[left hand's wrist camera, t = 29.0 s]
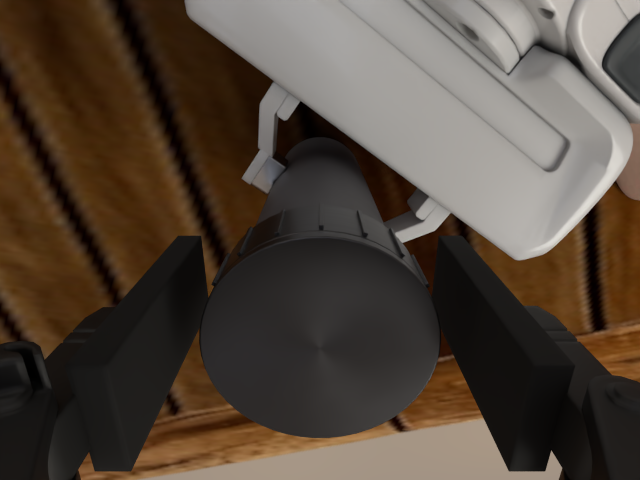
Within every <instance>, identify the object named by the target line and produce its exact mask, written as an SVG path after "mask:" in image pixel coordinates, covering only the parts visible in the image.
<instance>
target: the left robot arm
mask: <svg viewBox="0 0 640 480" xmlns="http://www.w3.org/2000/svg"><path fill="white" fill-rule="evenodd" d="M432 299H433V302H434V304H435V307H436V310H437V312H438V317H439V322H440V327H441V329H442V332H443V334H444V336H445V338H446V340H447V342H448V344H449V346H450V348H451V351H452V353H453V355H454V357H455V359H456V361H457V363H458V365H459V367H460V369H461V372H462V374H463V376H464V378H465V380H466V382H467V384H468V386H469V388H470V390H471V393H472V395H473V397H474V399H475V401H476V403H477V405H478V407H479V409H480V411H481V414H482V416H483V418H484V420H485V422H486V424H487V426H488V428H489V430H490V432H491V435H492V437H493V439H494V441H495V443H496V445H497V447H498V449H499V451H500V453H501V456H502V458H503V460H504V462H505V464H506V466H507V468H508V470H509V471H545V470H546V467H547V463H548V460H549V456H550V453H551V450H552V452H553V453H554V455H555V456H556V458H557V460H558V461H559V463H560V465H561V466H562V471H561V475H560V478H559V480H640V383H639V382H637V381H634V380H631V379H628V378H625V377H621V376H614V375H611V374H610V373H609V372H608V371H607V369H606V368H605V367H604V366H603V365H602V364H601V363H600V362H599V361H598V360H597V359H596V358H595V357H594V356H593V355H592V354H591V353H590V352H589V351H588V350H587V349H586V348H585V347H584V346H583V345H582V344H581V343H580V342H577V339H576V338H575V337H574V335H573V334H572V333H571V332H570V331H567V328H566V327H565V326H564V325H563V324H562V323H561V322H560V321H559V320H558V319H557V318H556V317H555V316H553V315H552V314H550V313H548V312H547V311H545V310H543V309H541V308H540V307H538V306H523V305H522V304H521V303H520V302H519V301H518V299H517V298H516V297H515V296H514V295H513V294H512V293H511V291H510V290H509V289H508V288H507V287H506V286H505V285H504V283H503V282H502V281H501V280H500V279H499V278H498V277H497V276H496V274H495V273H494V272H493V271H492V270H491V269H490V268H489V266H488V265H487V264H486V263H485V262H484V261H483V260H482V258H481V257H480V256H479V255H478V254H477V253H476V252H475V250H474V249H473V248H472V247H471V246H470V245H469V244H468V242H467V241H466V240H465V239H464V238H463V237H462V236H439V240H438V249H437V257H436V266H435V274H434V283H433V291H432ZM207 300H208V291H207V283H206V274H205V266H204V257H203V249H202V240H201V236H178V237H177V238H176V239H175V240H174V241H173V242H172V244H171V245H170V246H169V247H168V248H167V249H166V250H165V252H164V253H163V254H162V255H161V256H160V257H159V258H158V260H157V261H156V262H155V263H154V264H153V265H152V266H151V268H150V269H149V270H148V271H147V272H146V273H145V274H144V276H143V277H142V278H141V279H140V280H139V281H138V282H137V283H136V285H135V286H134V287H133V288H132V289H131V290H130V291H129V293H128V294H127V295H126V296H125V297H124V298H123V299H122V301H121V302H120V303H119V304H118V305H117V306H116V307H103V308H101V309H99V310H98V311H96V312H94V313H93V314H91V315H89V316H88V317H86V318H85V319H84V320H83V321H82V322H81V323H80V324H79V325H78V326H77V327H76V328H75V329H74V330H73V333H70V334H69V335H68V336H67V337H66V338H65V339H64V340H63V343H61V344H60V345H59V346H58V347H57V348H56V349H55V350H54V351H53V352H52V353H51V354H50V355H49V356H48V357H47V358H46V359H45V360H44V357H43V354H42V351H41V347H40V346H39V345H37V344H36V343H34V342H28V341H16V342H7V343H3V344H0V480H81V478H80V474H79V471H78V469H79V467H80V465H81V464H82V462H83V460H84V459H85V457H86V456H87V454H88V452H89V453H90V456H91V460H92V463H93V467H94V470H95V471H131V470H132V468H133V466H134V464H135V462H136V460H137V458H138V456H139V453H140V451H141V449H142V447H143V445H144V443H145V441H146V439H147V437H148V435H149V432H150V430H151V428H152V426H153V424H154V422H155V420H156V418H157V416H158V414H159V411H160V409H161V407H162V405H163V403H164V401H165V399H166V397H167V395H168V393H169V390H170V388H171V386H172V384H173V382H174V380H175V378H176V376H177V374H178V372H179V369H180V367H181V365H182V363H183V361H184V359H185V357H186V355H187V353H188V351H189V348H190V346H191V344H192V342H193V340H194V338H195V336H196V334H197V332H198V329H199V327H200V324H201V317H202V314H203V311H204V308H205V305H206V302H207Z"/></svg>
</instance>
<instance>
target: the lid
mask: <svg viewBox="0 0 640 480" xmlns="http://www.w3.org/2000/svg"><path fill="white" fill-rule="evenodd" d="M212 285H213V286H214V288H213V290H212V292H211V294H210V296H209V298H208V300H207V302H206V305H205V308H204V311H203V314H202V317H201V324H200V335H199V343H200V350H201V356H202V359H203V363H204V366H205V369H206V371H207V373H208V375H209V377H210V379H211V381H212V383H213V384H214V386H215V387H216V389H217V390H218V392H219V393H220V394H221V395H222V396H223V397H224V399H225V400H226V401H227V402H228V403H229V404H230V405H232V406H233V407H234V408H235V409H236V410H237V411H239V412H240V413H241V414H243V415H244V416H246V417H247V418H249V419H251V420H252V421H254V422H256V423H258V424H260V425H262V426H264V427H267V428H269V429H272V430H275V431H278V432H281V433H285V434H289V435H294V436H300V437H310V438H331V437H340V436H346V435H351V434H356V433H359V432H362V431H365V430H369V429H371V428H373V427H376V426H378V425H380V424H383V423H384V422H386V421H388V420H390V419H391V418H393V417H395V416H396V415H397V414H399V413H400V412H401V411H403V410H404V409H406V408H407V407H408V406H409V405H410V404H411V403H412V402H413V401H414V400H415V399H416V398H417V397H418V395H419V394H420V393H421V392H422V391H423V389H424V388H425V386H426V385H427V383H428V381H429V380H430V378H431V376H432V374H433V371H434V369H435V367H436V364H437V360H438V356H439V353H440V344H441V328H440V322H439V317H438V312H437V310H436V307H435V304H434V302H433V299H432V297H431V295H430V293H429V291H428V289H427V288H428V287H430V286H429V284H428V282H427V280H426V278H425V276H424V274H423V272H422V270H421V268H420V267H419V265H418V263H417V261H416V259H415V257H414V255H411V256H410V254H409V252H408V250H407V249H406V247H405V246H404V245H403V243H402V242H401V241H400V240H399V238H398V237H397V236H396V235H395V233H394V230H393V229H392V228H390V229H388V228H387V227H385V226H384V225H383V224H381V223H380V222H378V221H377V220H375V219H373V218H371V217H369V216H367V215H365V214H362V211H360V210H357V211H355V210H351V209H347V208H343V207H337V206H328V205H323V203H319V205H311V206H304V207H297V208H293V209H290V210H286V211H285V209H283V210H281V211H280V213H278V214H276V215H273V216H271V217H269V218H267V219H266V220H264V221H262V222H260V223H259V224H258V225H256V226H255V227H254V228H252V227H250V228H249V229H248V231H247V233H246V235H245V236H244V237H243V238H242V239H241V240H240V241H239V242H238V244H237V245H236V246H235V248H234V249H233V251H232V252H231V254H229V253H228V254H227V255H226V257H225V259H224V261H223V263H222V265H221V267H220V269H219V271H218V273H217V275H216V277H215V279H214V281H213V282H212Z"/></svg>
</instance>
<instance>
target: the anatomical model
mask: <svg viewBox="0 0 640 480" xmlns="http://www.w3.org/2000/svg"><path fill="white" fill-rule="evenodd" d="M630 126H631V128H632V132H633V147H632V151H631V154H630V157H629V159H628V162H627V164H626V166H625V167H624V169H623V170H622V172H621V174H620V175H619V176H618V178H617V179H616V182H617V184H618V186H619V187H620V189H621V190H622V191H623V193H624V194H625V195H627V196H628V197H630V198H632V199H635V200H640V124H630Z"/></svg>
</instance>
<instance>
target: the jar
mask: <svg viewBox="0 0 640 480" xmlns="http://www.w3.org/2000/svg"><path fill="white" fill-rule="evenodd" d="M285 158H286V159H287V160H288V164H287V167H286V169H285V170H284V172H283V173H282V175H281V176H280V177H279V178H278V179H277V180H275V183H274V185H273V187H272V189H271V191H270V193H269V195H268V198H267V200H266V203H265V205H264V207H263V210H262V212H261V214H260V217H259V219H258V221H257V224H256V225H258V224H259V223H260V222H262V221H264V220H266V219H267V218H269V217H271V216H273V215H276V214H278V213H280V211H281V210H283V209H285V211H286V210H290V209H293V208H297V207H304V206H311V205H319V203H323V205H328V206H337V207H343V208H347V209H351V210H355V211H357V210H360V211H362V214H365V215H367V216H369V217H371V218H373V219H375V220H377V221H378V222H380V223H381V224H383V225H384V223H383V221H382V219H381V216H380V214H379V212H378V209H377V207H376V204H375V202H374V200H373V197H372V195H371V193H370V190H369V188H368V186H367V183H366V181H365V179H364V176H363V174H362V172H361V169H360V167H359V165H358V162H357V160H356V158H355V156H354V155H353V153H352V152H351V151H350V150H349V149H348V148H347V147H346V146H345V145H343V144H342V143H340V142H338V141H336V140H334V139H330V138H325V137H315V138H310V139H306V140H304V141H302V142H300V143H298V144H297V145H295V146H294V147H293V148H292V149H291V150H290V151H289V152H288V154H287V155H286V157H285Z"/></svg>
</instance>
